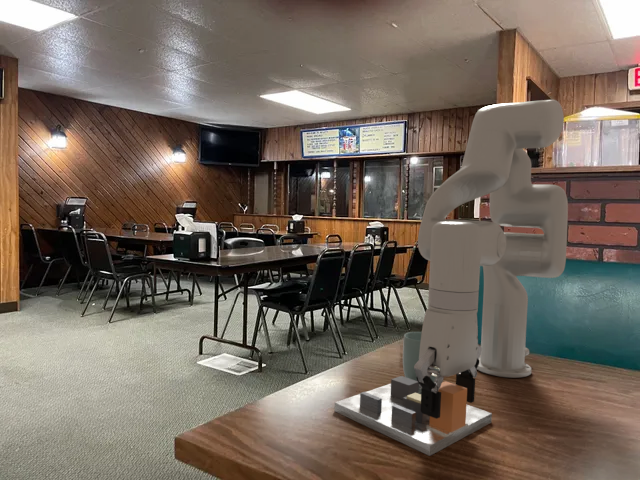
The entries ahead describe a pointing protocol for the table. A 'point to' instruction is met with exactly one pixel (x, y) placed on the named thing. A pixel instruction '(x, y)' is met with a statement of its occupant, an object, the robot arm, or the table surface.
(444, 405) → the cap
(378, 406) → the panel
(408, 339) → the cup
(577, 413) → the table surface
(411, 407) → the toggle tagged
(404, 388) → the toggle
